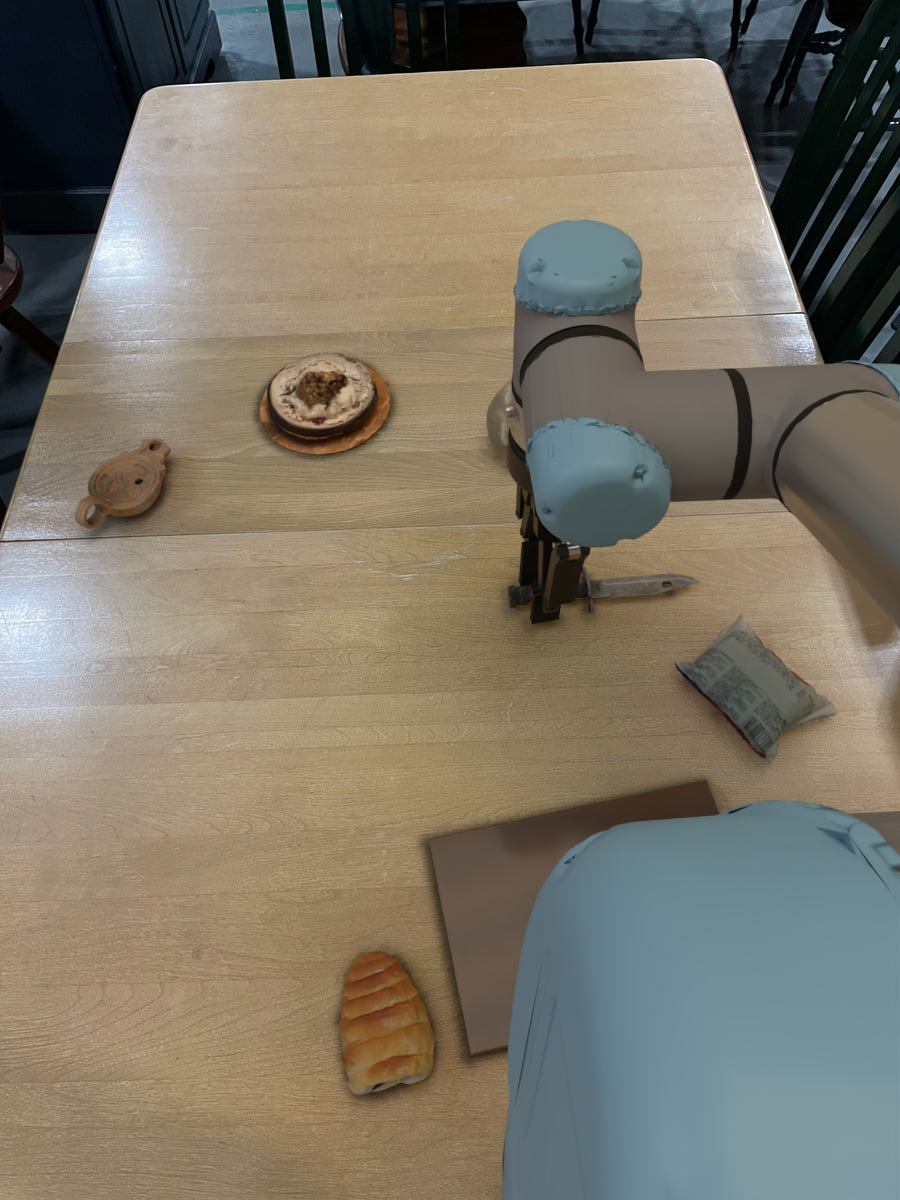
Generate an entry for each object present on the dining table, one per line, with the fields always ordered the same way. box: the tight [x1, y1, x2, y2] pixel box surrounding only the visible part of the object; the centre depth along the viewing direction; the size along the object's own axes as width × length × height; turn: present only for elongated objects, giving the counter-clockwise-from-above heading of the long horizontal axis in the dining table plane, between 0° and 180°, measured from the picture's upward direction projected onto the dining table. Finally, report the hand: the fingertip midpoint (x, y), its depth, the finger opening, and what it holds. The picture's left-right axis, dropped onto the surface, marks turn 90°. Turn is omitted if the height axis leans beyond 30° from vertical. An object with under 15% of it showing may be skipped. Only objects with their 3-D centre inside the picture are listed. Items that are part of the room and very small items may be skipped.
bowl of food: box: [259, 352, 391, 456], centre depth 96 cm, size 15×15×4 cm
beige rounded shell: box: [486, 378, 512, 461], centre depth 90 cm, size 9×8×10 cm
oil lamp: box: [74, 438, 172, 530], centre depth 89 cm, size 13×8×5 cm, turn 150°
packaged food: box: [674, 613, 838, 765], centre depth 75 cm, size 9×12×5 cm
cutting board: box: [427, 779, 720, 1057], centre depth 67 cm, size 16×24×1 cm, turn 102°
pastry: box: [337, 950, 436, 1096], centre depth 62 cm, size 9×7×4 cm
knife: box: [507, 566, 701, 614], centre depth 82 cm, size 19×2×5 cm
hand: (538, 599), depth 82 cm, fingers closed on knife, 4 cm apart
